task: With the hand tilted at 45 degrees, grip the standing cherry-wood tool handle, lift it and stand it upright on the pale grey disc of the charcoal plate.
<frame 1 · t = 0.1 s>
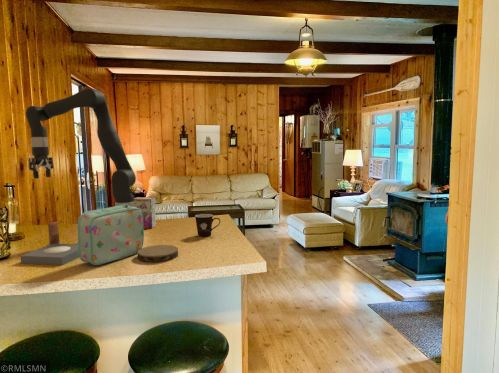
hand: (42, 177, 191), 29 cm above the worktop, tool pointing down, fingers open, 8 cm apart
candy bar box: (145, 227, 205), on the worktop
wood slice: (158, 257, 150), on the worktop
lunch box: (114, 258, 149), on the worktop
coffee mug: (207, 236, 183), on the worktop
plate: (57, 257, 151), on the worktop
handle: (54, 247, 167), on the worktop
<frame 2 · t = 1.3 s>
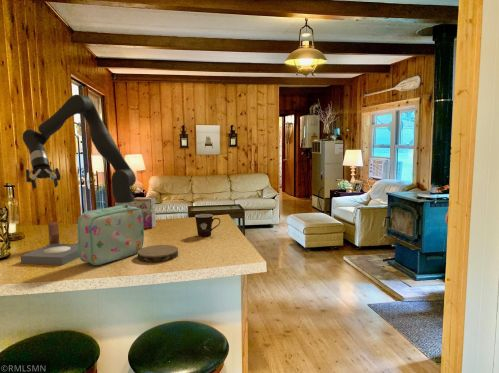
hand: (45, 186, 173), 26 cm above the worktop, tool tilted 45°, fingers open, 8 cm apart
nothing on the worktop moved.
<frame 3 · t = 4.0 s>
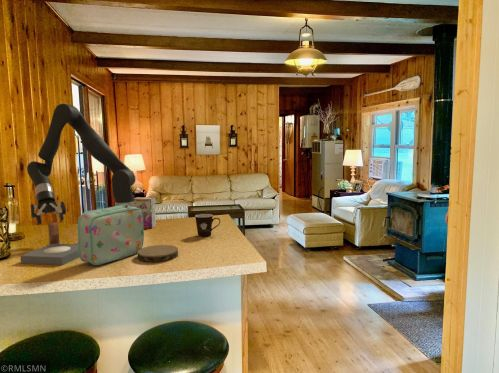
hand: (51, 222, 169), 11 cm above the worktop, tool tilted 45°, fingers open, 8 cm apart
nothing on the worktop moved.
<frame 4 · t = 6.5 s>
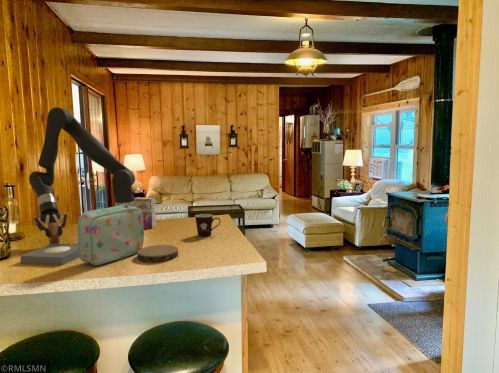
hand: (54, 235, 165), 6 cm above the worktop, tool tilted 45°, fingers closed on handle, 4 cm apart
handle: (54, 247, 167), on the worktop, touching gripper
everything else where it was.
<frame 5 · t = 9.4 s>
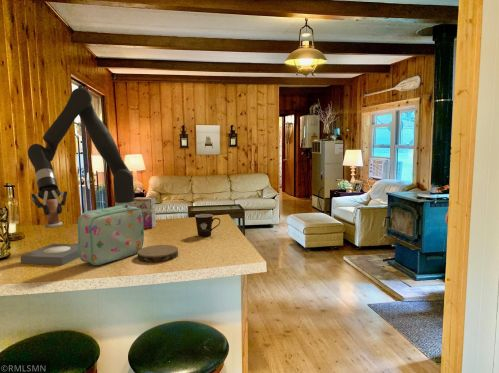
hand: (53, 213, 150), 18 cm above the worktop, tool tilted 45°, fingers closed on handle, 4 cm apart
handle: (53, 226, 152), point 12 cm above the worktop, touching gripper
everything else where it was.
when the fingers open (10 cm above the worktop, at t = 12.3 s): handle drops 1 cm, resting on plate.
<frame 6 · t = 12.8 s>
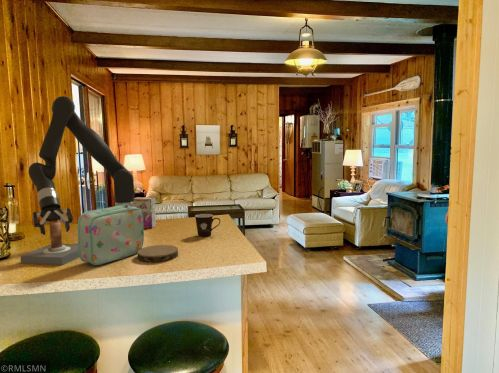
hand: (56, 232, 149), 11 cm above the worktop, tool tilted 45°, fingers open, 8 cm apart
handle: (56, 249, 151), point 3 cm above the worktop, touching plate
everything else where it was.
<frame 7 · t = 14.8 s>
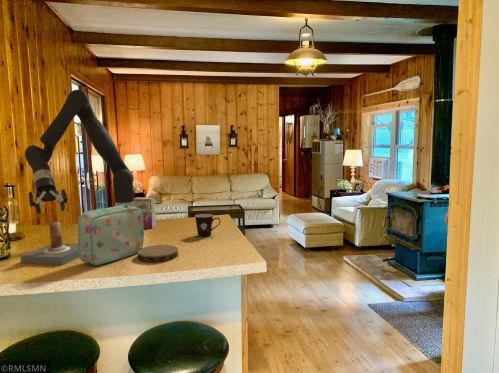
hand: (51, 211, 154), 18 cm above the worktop, tool tilted 45°, fingers open, 8 cm apart
nothing on the worktop moved.
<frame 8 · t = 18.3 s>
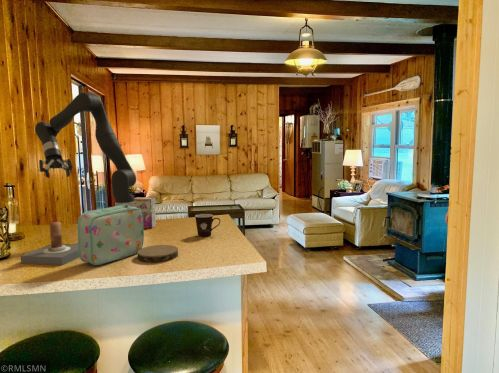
hand: (58, 176, 179), 31 cm above the worktop, tool tilted 45°, fingers open, 8 cm apart
nothing on the worktop moved.
at the end: handle inside the target area on the plate (0.1 cm from its centre), point 3.2 cm above the plate's base; handle tilted 1°; the gripper is holding nothing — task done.
